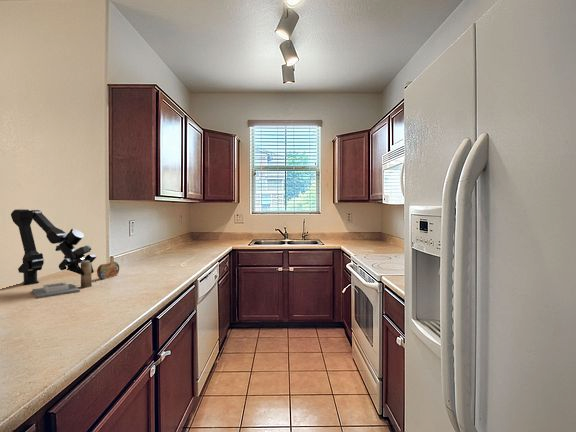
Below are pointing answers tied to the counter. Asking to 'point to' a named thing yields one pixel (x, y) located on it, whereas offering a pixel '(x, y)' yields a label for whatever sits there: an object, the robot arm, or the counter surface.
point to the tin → (108, 270)
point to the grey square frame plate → (55, 290)
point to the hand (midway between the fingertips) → (88, 273)
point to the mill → (86, 274)
